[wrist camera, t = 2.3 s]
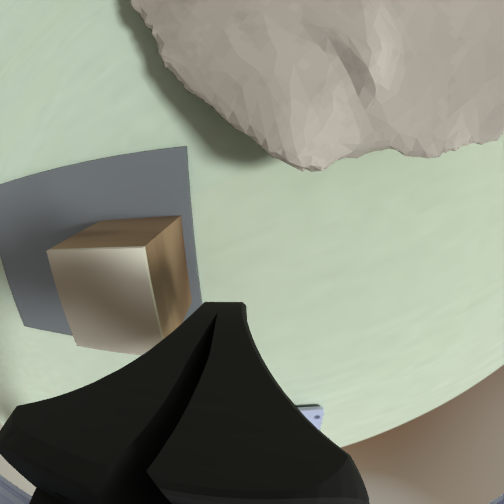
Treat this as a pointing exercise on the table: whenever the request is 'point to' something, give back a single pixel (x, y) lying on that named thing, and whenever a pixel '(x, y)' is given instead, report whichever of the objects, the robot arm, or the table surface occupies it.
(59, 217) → the mat
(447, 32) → the rock
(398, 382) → the table surface
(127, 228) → the cube
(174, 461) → the robot arm
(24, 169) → the table surface
